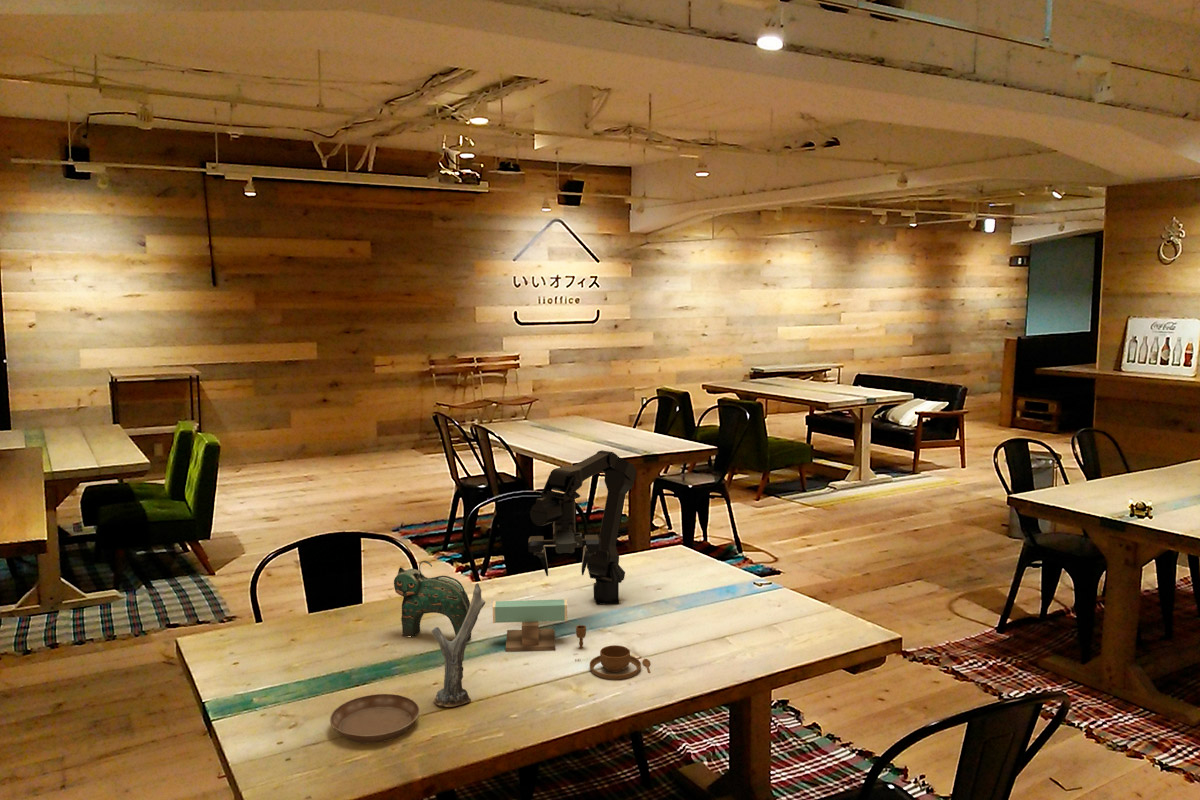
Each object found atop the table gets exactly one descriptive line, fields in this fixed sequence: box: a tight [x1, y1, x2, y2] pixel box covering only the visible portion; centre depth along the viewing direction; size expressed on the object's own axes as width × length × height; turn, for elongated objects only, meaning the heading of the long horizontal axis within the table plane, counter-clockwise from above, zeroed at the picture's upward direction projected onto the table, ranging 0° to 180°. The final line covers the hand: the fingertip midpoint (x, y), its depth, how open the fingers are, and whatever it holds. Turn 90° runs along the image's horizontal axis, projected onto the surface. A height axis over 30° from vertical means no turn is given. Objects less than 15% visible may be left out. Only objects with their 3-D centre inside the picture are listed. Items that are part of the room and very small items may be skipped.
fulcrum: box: [505, 622, 556, 653], centre depth 228 cm, size 12×11×6 cm
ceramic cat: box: [393, 560, 472, 643], centre depth 230 cm, size 20×6×20 cm, turn 73°
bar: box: [492, 598, 568, 624], centre depth 227 cm, size 18×4×4 cm, turn 93°
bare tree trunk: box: [431, 582, 486, 708], centre depth 197 cm, size 12×8×25 cm
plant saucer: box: [329, 693, 421, 744], centre depth 187 cm, size 18×18×3 cm
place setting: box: [574, 624, 651, 681], centre depth 216 cm, size 18×20×6 cm
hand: (564, 575), depth 240 cm, fingers open, 9 cm apart
